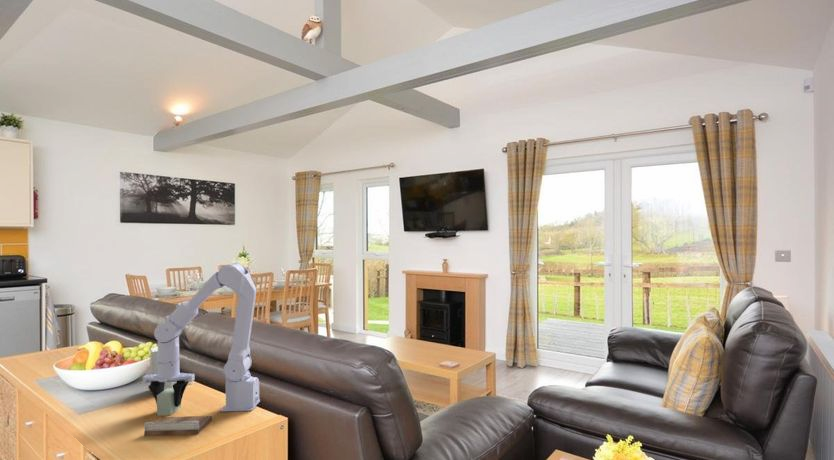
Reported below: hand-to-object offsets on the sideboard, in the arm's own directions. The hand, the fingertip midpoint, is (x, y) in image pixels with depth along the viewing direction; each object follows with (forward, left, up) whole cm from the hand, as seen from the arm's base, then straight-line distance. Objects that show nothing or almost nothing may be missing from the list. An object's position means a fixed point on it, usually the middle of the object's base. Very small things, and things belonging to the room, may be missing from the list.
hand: (169, 405), depth 134 cm
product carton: (0, 0, -2) cm, 2 cm away
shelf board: (-9, +12, -2) cm, 15 cm away
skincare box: (+12, -18, -2) cm, 22 cm away
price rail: (-9, +16, 0) cm, 18 cm away
